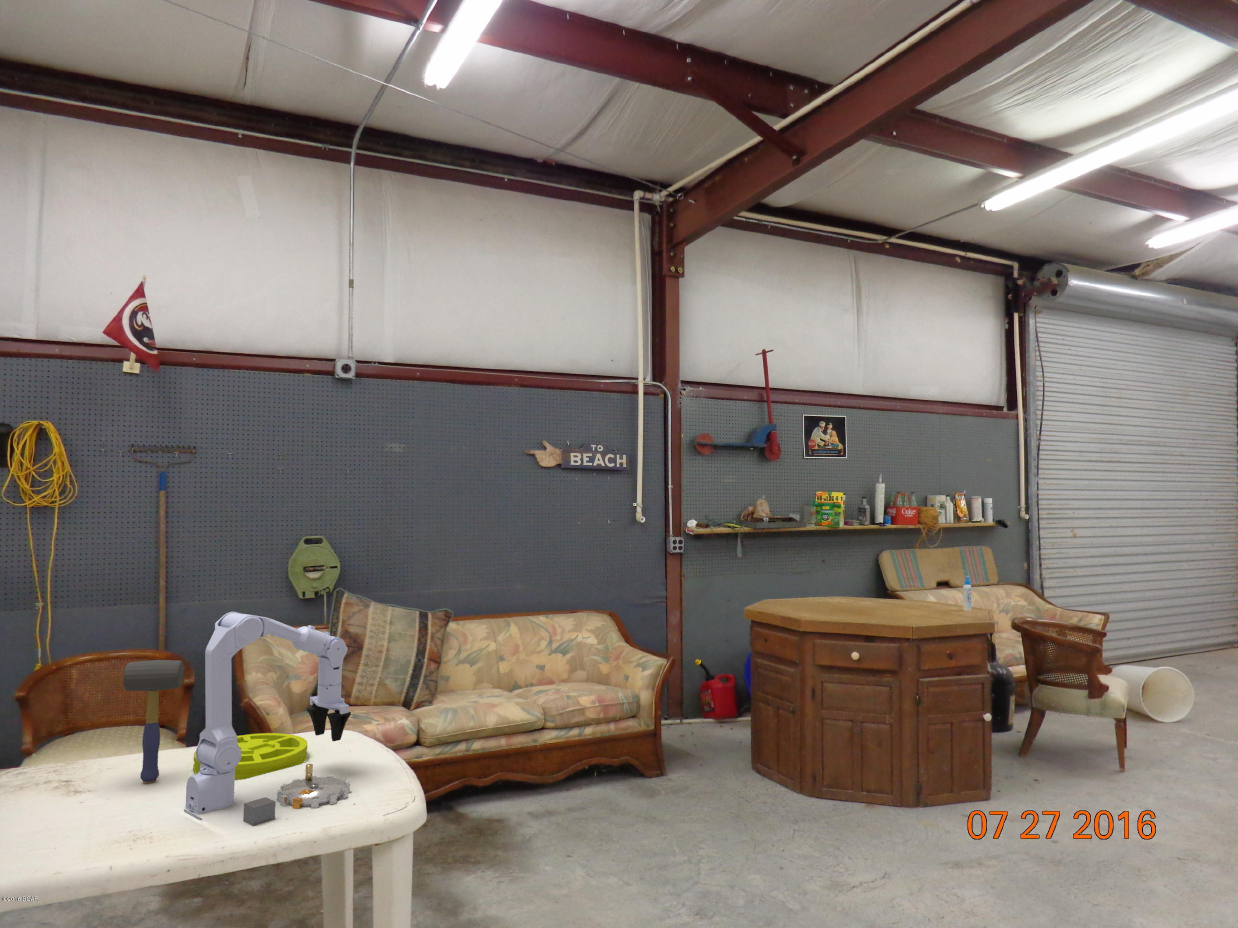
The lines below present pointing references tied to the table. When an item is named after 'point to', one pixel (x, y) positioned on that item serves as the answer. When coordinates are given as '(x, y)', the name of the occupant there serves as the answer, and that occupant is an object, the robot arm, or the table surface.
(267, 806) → the link block
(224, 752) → the robot arm
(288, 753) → the pulley
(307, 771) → the wheel
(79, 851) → the table surface
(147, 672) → the rubber mallet
